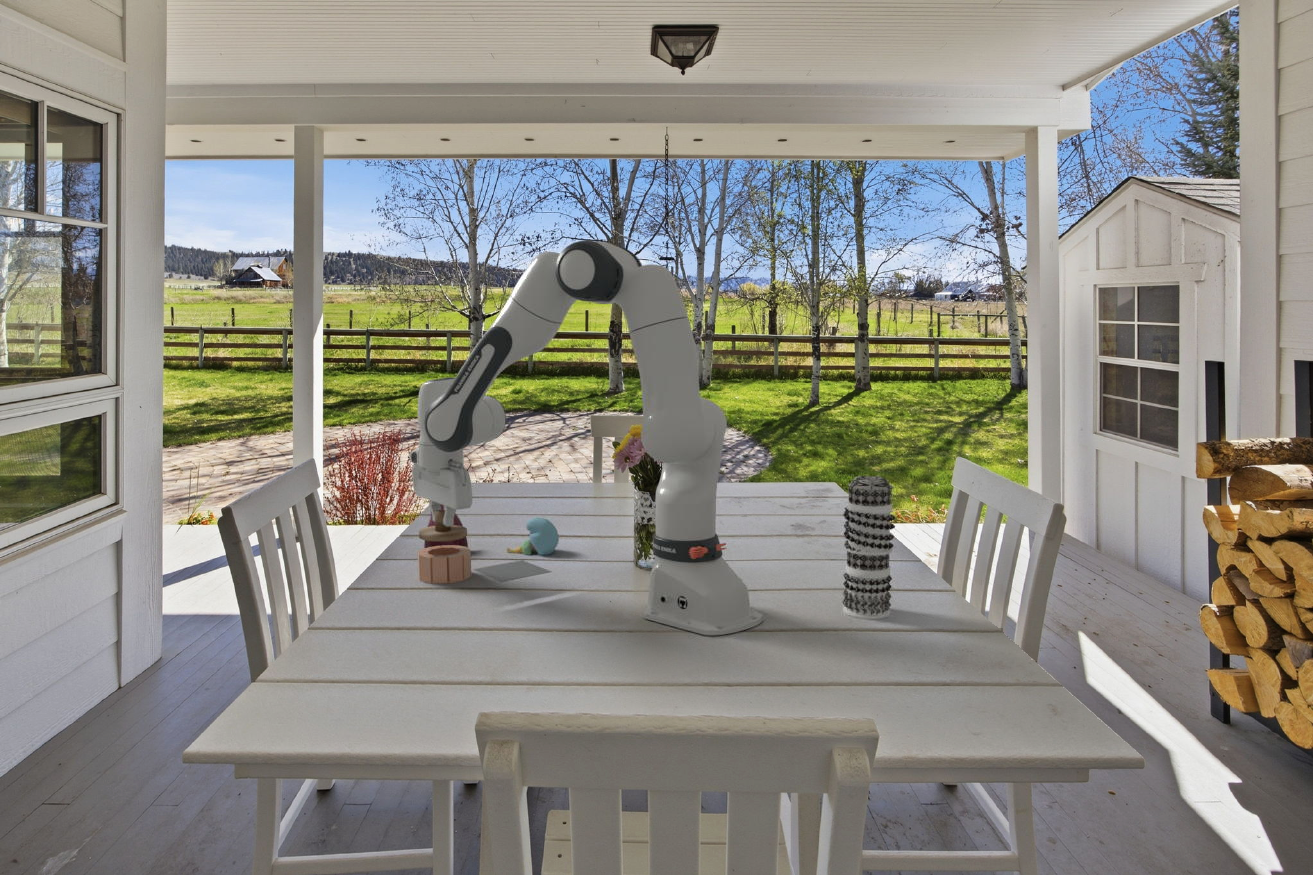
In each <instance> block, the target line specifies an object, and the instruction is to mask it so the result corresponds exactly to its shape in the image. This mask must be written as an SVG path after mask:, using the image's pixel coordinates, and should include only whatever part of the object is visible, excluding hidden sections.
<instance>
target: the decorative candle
mask: <svg viewBox="0 0 1313 875" xmlns="http://www.w3.org/2000/svg"><path fill="white" fill-rule="evenodd" d="M847 487H848V501H847V506H846V507H844V510H845V511H844V513H843V514H842V515H843V517H844V519H845V520H846V521H845V522H844V524H843V527H844V528H845V530H844V532H843V536H844V538H845V539H846V540H845V542H844V544H843V545H844V550H845V551H847V552H846V563H845V573H844V574H843V578H844V580H845V581H844V582H843V586H844V588H845V589H844V590H843V591H842V595H843V597H844V598H843V599H842V604H843V605H844V606H843V607H842V611H843V613H844V614H845V615H847V616H849V615H850V617H853V618H856V619H862V620H863V619H864V620H879V619H881V618H882V619H885V618H887V617H889V616H890V614H891V611H890V607H892V603H891V602H890V600H891V599H892V595H891V593H890V592H889V591H890V590H891V589H892V585H891V581H892V580H893V577H892V576H891V566H890V554H892V552H893V548H894V544H893V543H892V542H891V541H892V540H893V539H894V537H895V536H894V535H893V534H891V531H892V530H893V529H895V528H896V526H895V524H893V523H892V522H893V521H894V520H896V516H894V515H893V513H892V512H893V503H892V489H894V486H893V485H891V484H890V482H889V480H887V478H885V477H882V476H877V475H860V476H856V477H854V479H853V480H852V481H851V483H849V484H847ZM884 617H885V618H884Z"/></svg>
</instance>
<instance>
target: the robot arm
mask: <svg viewBox="0 0 1313 875" xmlns="http://www.w3.org/2000/svg"><path fill="white" fill-rule="evenodd" d="M577 301H582V302H589V303H594V304H597V305H608V304H614V305H615V304H616V305H617V306H618V307H620V309H621V310H622V312H623V315H624V317H625V321H626V325H627V328H628V333H629V338H630V340H631V345H632V348H633V352H634V356H635V361H636V364H637V368H638V372H639V373H638V374H639V378H640V389H641V402H642V415H643V416H642V417H643V419H642V420H643V421H642V426H641V431H640V439H641V440H640V441H641V444H642V447H643V448H644V450H645V452H646V453H647V454H648V456H649V457H651V458H652V459H654V460H655V461H656V462H659V463H663V464H662V467H661V468H662V469H661V473H660V474H661V475H660V478H659V482H658V484H657V487H656V490H655V533H653V535H652V536H653V537H652V539H653V540H652V553H653V555H654V561H653V564H652V565H653V566H652V569H651V571H650V576H649V578H650V579H649V587H648V588H649V589H648V597H647V604H646V609H644V611H643V619H645V620H649V621H653V622H656V623H659V624H664V625H667V626H671V627H674V628H677V629H682V630H686V631H689V632H692V633H697V634H700V635H704V636H722V635H727V634H734V633H737V632H741V631H744V630H745V631H746V630H747V629H750V628H755V627H756V626H758V625H759V624H761V623H762V622H763V621H764V616H763V614H762V613H760V612H759V611H756V610H754V609H753V608H751V606H750V595H749V589H748V587H747V585H746V583H745V582H743V578H742V579H741V577H739V576H738V574H736V572H735V570H733V569H732V567H731V566H730V565H729V564H728V563H727V561H726V560H725V558H724V557H723V556H724V555H723V550H727V547H724V546H726V545H727V543H726V542H724V543H720V538H719V536H718V534H717V533H716V531H717V529H716V526H717V522H716V520H717V519H716V518H717V514H716V513H717V490H718V489H717V488H718V482H719V476H720V470H721V463H722V456H723V447H724V440H725V436H726V432H727V424H728V423H727V418H726V415H725V413H724V411H723V409H722V408H721V407H720V406H719V405H718V404H716V403H715V402H714V401H711V400H710V399H707V398H704V397H701V392H700V391H701V390H700V381H699V379H700V378H699V366H700V358H699V354H698V350H697V346H696V341H695V338H694V335H693V330H692V327H691V323H690V320H689V319H690V318H689V316H688V315H689V314H688V311H687V308H686V305H685V302H684V299H683V296H682V294H681V292H680V289H679V287H678V284H677V282H676V280H675V278H674V276H673V275H672V273H671V271H670V270H669V269H668V268H666V267H664V266H663V265H660V264H653V263H652V264H645V265H643V264H642V261H641V260H640V259H639V257H638V256H637V255H635V253H633V252H632V251H630V250H629V249H627V248H625V247H620V246H616V245H614V244H613V243H610V242H605V241H597V240H595V241H593V240H589V239H585V240H584V239H583V240H579V241H575V242H573V243H571V244H569V245H567V246H566V247H565V248H563V250H562V251H561V252H560V253H558V252H555V251H543V252H541V253H538V255H537V256H535V257H534V258H533V260H532V261H531V262H530V263H529V264H528V266H527V267H526V269H525V270H524V272H523V273H522V274H521V276H520V277H519V279H518V281H517V282H516V284H515V285H514V287H513V289H512V291H511V293H510V295H509V296H508V298H507V301H506V302H505V304H504V306H503V307H502V309H501V311H500V312H499V314H497V317H496V319H495V320H494V321H493V323H492V324H491V325H490V327H488V329H487V331H486V332H485V333H484V334H483V335H482V337H481V338H480V339H479V341H478V342H477V343H476V345H475V346H474V348H473V349H472V351H471V353H469V355H468V357H467V358H466V360H465V361H464V364H463V365H462V366H461V368H460V369H459V371H458V373H457V374H456V376H455V377H452V376H450V377H441V378H434V379H430V380H427V381H425V382H424V383H422V384H421V385H420V388H419V392H418V399H417V423H418V427H419V432H420V435H419V438H418V448H417V449H415V450H413V451H412V452H410V453H409V461H410V462H411V463H412V468H411V471H412V472H411V473H412V474H411V475H412V485H413V486H412V487H413V490H414V494H415V496H417V497H420V498H423V499H425V500H428V505H429V508H430V510H431V511H432V517H433V521H434V522H435V511H436V510H441V506H440V504H442V505H444V510H445V514H444V517H442V521H443V522H442V524H443V525H444V526H447V527H449V526H453V524H454V518H453V517H454V515H455V513H456V512H457V510H466V509H470V508H471V507H472V504H473V490H472V489H473V488H472V481H471V476H470V473H469V472H468V470H467V469H466V468H465V466H464V464H465V463H464V460H465V459H464V448H468V447H472V446H477V445H480V444H485V443H489V442H491V441H494V440H496V439H497V438H499V437H500V436H502V434H503V433H504V430H505V428H506V424H507V417H506V415H507V414H506V411H505V409H504V406H503V405H502V403H501V402H500V401H499V400H498V399H497V398H496V397H493V396H488V395H486V394H487V392H488V391H489V389H490V388H491V387H492V385H493V383H494V381H495V380H496V379H497V377H498V376H499V375H500V373H501V372H503V371H504V370H506V368H508V367H510V366H511V365H513V364H514V363H516V362H519V361H520V360H522V359H524V358H527V357H529V356H532V355H534V354H537V353H539V352H541V351H542V350H544V349H545V348H546V347H547V346H548V344H550V342H551V341H552V340H553V339H554V337H555V336H556V335H557V332H559V329H560V327H561V325H562V324H563V322H564V320H565V318H566V317H567V314H568V312H569V311H570V309H571V307H572V306H573V305H574V304H575V303H576V302H577ZM431 511H430V512H431Z"/></svg>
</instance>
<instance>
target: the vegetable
mask: <svg viewBox="0 0 1313 875" xmlns="http://www.w3.org/2000/svg"><path fill="white" fill-rule="evenodd" d="M440 506H441V510H443V509H444V505H442V504H440ZM453 518H454V524H453V525H457V526H463V523H462V521H461V519H460V517H459V516H458V514H457V513H456V512H455V515H454V517H453ZM430 526H435V522H434V521H433V517H432V511H430V517H429V521H428V523H427V526H426V527H430ZM463 527H464V526H463ZM468 544H469V542H468V538H467V536H466V537H464V538H462V539H458V540H452V541H426V540H424V544H423V547H424V548H428V547H434V546H442V545H456V546H457V545H458V546H464V547H467V548H469V545H468ZM424 548H423V549H424Z"/></svg>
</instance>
